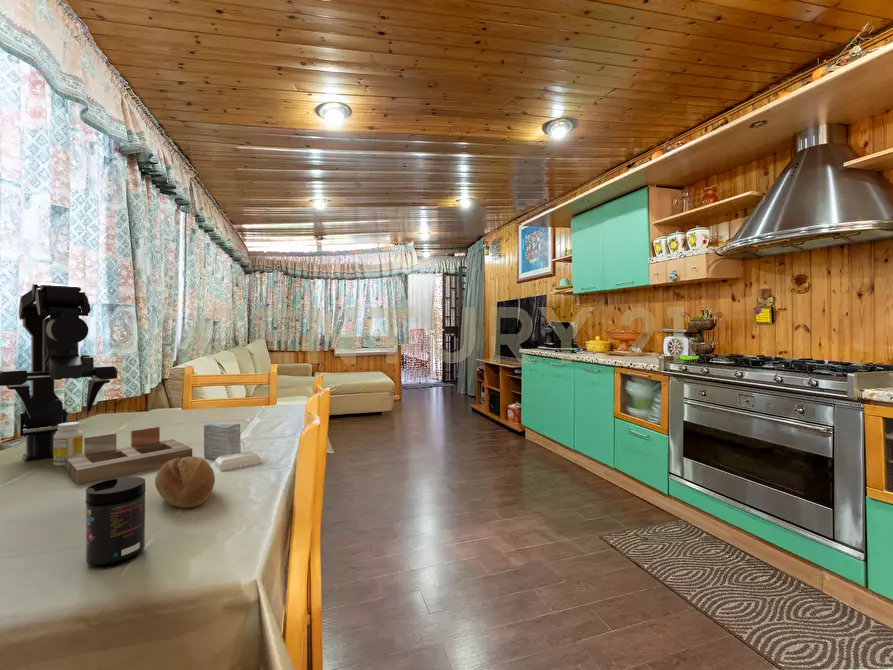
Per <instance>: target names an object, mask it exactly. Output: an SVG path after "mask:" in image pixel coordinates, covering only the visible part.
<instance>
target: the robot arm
mask: <svg viewBox="0 0 893 670" xmlns="http://www.w3.org/2000/svg"><path fill="white" fill-rule="evenodd" d="M19 300H20V301H19V305H18V306H19V307H18V318H19V320H22V327H23V329H24V330H25V331H27V333H28V334H29V335H30V336H31V338H30V339H31V347H30V348H31V349H30V350H31V353H30V354H31V355H30V356H31V357H30V358H31V359H30V361H31V365H30V366H31V367H30V368H31V369H30V371H27V369H25V368H20V369H19V368H17V369H16V368H15V369H1V370H0V387H6V388H7V389H8V391H10V390H12V391H13V390H14V391H16V393H17V395H18V396H19V398H20V399H21V402H22V411H19V412H18V420H17V435H18V436H19V437H23V436H25V453H22V457H23V459H24V461H25V462H26V461H32V460H33V461H34V460H40V459H46V458H50V457H51V458H52V457H53V441H54V435H55V434H56V433H58V432H59V431H58V430H57V427H58V424H62V423H68V418H69V412H68V411H67V410H66V408H65V406H64V405H63V402H62V400H61V399H60V398H59V397H58V396H57V394H56V393H55V381H59V380H60V381H61V380H62V379H63V380H64V379H74V380H75V379H76V380H77V379H80V378H81V379H83V378H91V379H88V382H87V383H88V385H87V394H86V402H85V403H86V405H85V407H86V412H87V413H90V412H91V410H92V407H93V405H94V402H95V400H96V398H97V396H98V394H99V392H100V390H101V389H102V387H103V386H104V385H105V384H109V383H110V382H111V380H116V379H118V369H117V368H116V366H114V365H111V364H108V365H107V364H106V365H94V359H95V358H94V356H93V354H82V355H80V354H79V343H80V342H82V341H83V340H85V339H86V338H87V337H88V334H89V330H90V329H89V327H88V324H87V322H86V321H85V320H83V319H82V318H80V317H88V316H89V314H90V313H91V305H90V301H89V297H88V296H87V295H86V292H85V291H84V290H83V291H82V287H81V286H80V285H71V284H70V285H66V284H59V283H50V282H35V283H33V282H32V286H31V290H29V291H27V292H26V293H24V294H23V295H21V297H20V299H19ZM29 381H30V384H31V385H29V384H27V383H28V382H29ZM30 386H31V388H30ZM63 406H64V407H63Z"/></svg>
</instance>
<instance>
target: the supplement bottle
mask: <svg viewBox="0 0 893 670" xmlns="http://www.w3.org/2000/svg"><path fill="white" fill-rule="evenodd" d="M79 429H80V422H78V421H72V422H71V421H69V422H68V421H67V423H62V424H58V427H57V430H58V431H57V433H56V434H55V435H54V441H53V456H52V457H53V461H52V462H53V465H54V466H58V467H59V466H65V457H69V456H75V455H81V454H84V447H83V446H84V439H83V438H84V436H83V435H84V434H83V431H81V430H79Z"/></svg>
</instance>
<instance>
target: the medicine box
mask: <svg viewBox="0 0 893 670" xmlns="http://www.w3.org/2000/svg"><path fill="white" fill-rule="evenodd" d="M241 442H242V441H241V423H238V422H237V423H236V422H230V421H229V422H226V421H214V422H210V423H207V424H204V425H203V454H204V455H203V459H204V458H205V459H212V460H216V459H217V458H218V457H219V456H225V455H231V454H237V453H242V447H241V446H242V445H241Z"/></svg>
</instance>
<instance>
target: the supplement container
mask: <svg viewBox="0 0 893 670" xmlns="http://www.w3.org/2000/svg"><path fill="white" fill-rule="evenodd" d="M145 547H146V478H144V477H140V476H127V477H126V476H125V477H118V478H111V479H107V480H105V481H103V480H102V481H100V482H97V483H94V484H91V485H90V486H88V487H87V488H85V563H86V564H87V566H89V567H90V568H92V567H93V569H97V568H102V569H109V568H108V567H110V568H114V566H115V567H118V565H119V566H121V564H122V565H124V563H125V564H127V563H129V562H131V561H134V560H135V559H136V558H138V557H139V556H140V555H141V554H142V553H143V552H144V550H145Z"/></svg>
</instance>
